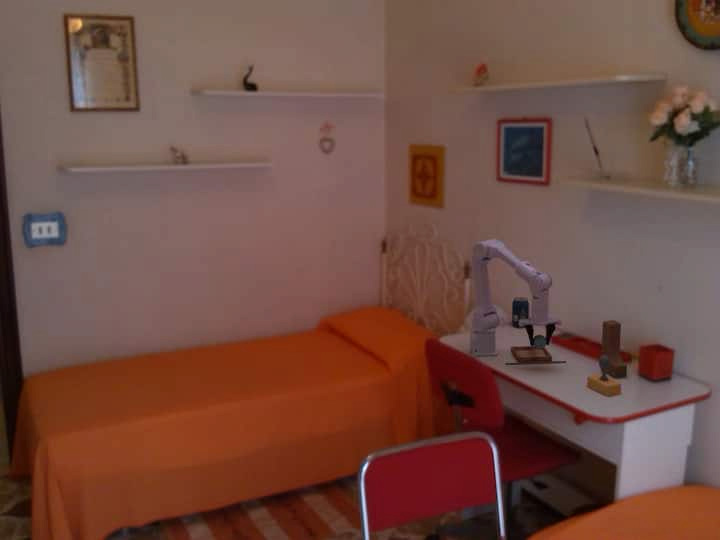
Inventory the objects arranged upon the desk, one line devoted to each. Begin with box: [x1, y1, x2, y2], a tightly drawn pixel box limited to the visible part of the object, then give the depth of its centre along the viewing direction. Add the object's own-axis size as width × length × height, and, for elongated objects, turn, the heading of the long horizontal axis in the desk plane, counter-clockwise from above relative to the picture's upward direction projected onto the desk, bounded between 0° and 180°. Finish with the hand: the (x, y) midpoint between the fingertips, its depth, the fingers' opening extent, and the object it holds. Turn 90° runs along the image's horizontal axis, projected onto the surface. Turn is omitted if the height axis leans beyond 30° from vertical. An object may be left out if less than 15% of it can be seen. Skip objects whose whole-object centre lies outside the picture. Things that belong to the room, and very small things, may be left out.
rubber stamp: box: [586, 355, 622, 397], centre depth 230 cm, size 10×6×12 cm, turn 22°
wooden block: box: [601, 319, 628, 379], centre depth 243 cm, size 9×4×18 cm, turn 13°
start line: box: [505, 360, 567, 366], centre depth 258 cm, size 22×1×1 cm, turn 89°
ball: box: [533, 334, 547, 349], centre depth 251 cm, size 5×5×5 cm
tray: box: [510, 345, 553, 363], centre depth 265 cm, size 13×13×2 cm
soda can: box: [511, 296, 530, 329], centre depth 301 cm, size 7×7×12 cm
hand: (539, 344), depth 251 cm, fingers closed on ball, 5 cm apart
